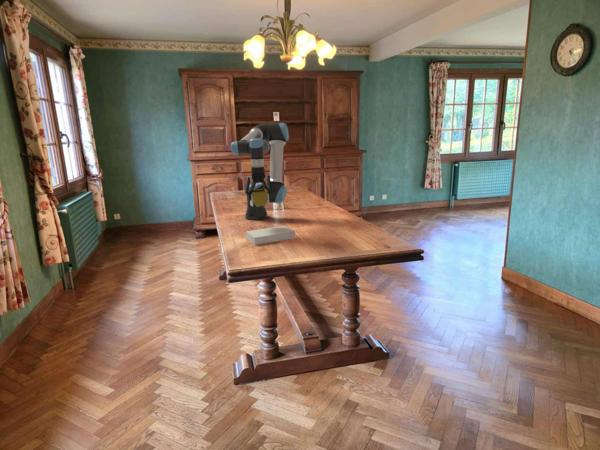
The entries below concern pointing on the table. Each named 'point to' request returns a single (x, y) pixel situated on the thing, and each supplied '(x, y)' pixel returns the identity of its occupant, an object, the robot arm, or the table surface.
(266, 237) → the white stand
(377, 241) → the table surface
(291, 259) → the table surface
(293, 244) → the table surface
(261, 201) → the flower pot
